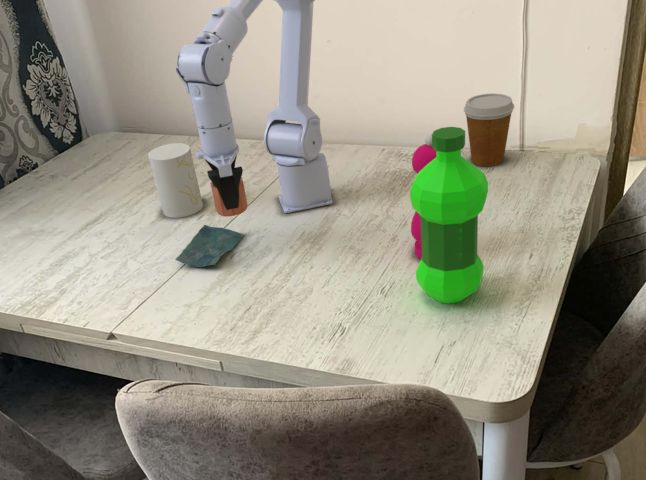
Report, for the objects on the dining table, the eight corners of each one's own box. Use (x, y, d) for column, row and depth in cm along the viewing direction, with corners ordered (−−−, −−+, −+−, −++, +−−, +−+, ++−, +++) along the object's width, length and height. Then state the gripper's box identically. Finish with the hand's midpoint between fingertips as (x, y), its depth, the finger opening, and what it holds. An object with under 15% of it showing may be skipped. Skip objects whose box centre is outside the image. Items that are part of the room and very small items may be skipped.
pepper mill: (428, 268, 117) (425, 148, 105) (403, 250, 122) (397, 135, 110) (465, 253, 119) (465, 134, 107) (438, 237, 124) (436, 122, 113)
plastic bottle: (411, 279, 114) (404, 123, 100) (479, 273, 113) (483, 115, 99) (417, 315, 106) (411, 151, 92) (491, 309, 105) (496, 142, 91)
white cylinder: (195, 217, 143) (181, 159, 136) (157, 218, 145) (141, 160, 138) (208, 198, 149) (195, 142, 142) (171, 200, 151) (156, 144, 144)
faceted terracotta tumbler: (245, 200, 128) (240, 172, 125) (249, 213, 124) (244, 184, 120) (215, 206, 128) (209, 178, 125) (218, 219, 123) (212, 191, 120)
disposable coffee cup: (475, 148, 153) (476, 91, 146) (519, 154, 148) (522, 94, 141) (455, 166, 147) (455, 107, 140) (500, 172, 142) (502, 111, 135)
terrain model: (206, 232, 136) (204, 223, 135) (244, 236, 134) (243, 227, 133) (175, 268, 127) (173, 258, 126) (216, 272, 125) (214, 263, 123)
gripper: (187, 113, 122) (204, 188, 130) (192, 142, 110) (210, 223, 118) (228, 105, 123) (243, 180, 131) (238, 133, 111) (253, 214, 119)
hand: (230, 200), depth 125 cm, fingers closed on faceted terracotta tumbler, 5 cm apart
